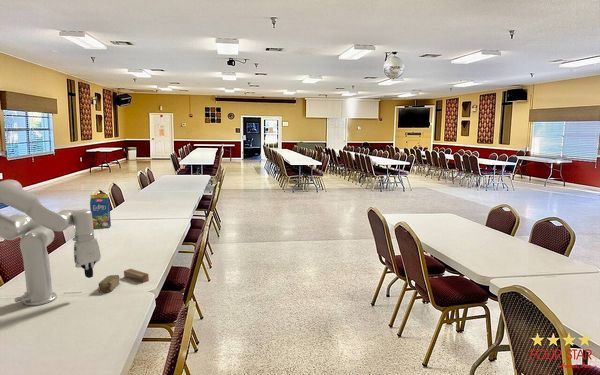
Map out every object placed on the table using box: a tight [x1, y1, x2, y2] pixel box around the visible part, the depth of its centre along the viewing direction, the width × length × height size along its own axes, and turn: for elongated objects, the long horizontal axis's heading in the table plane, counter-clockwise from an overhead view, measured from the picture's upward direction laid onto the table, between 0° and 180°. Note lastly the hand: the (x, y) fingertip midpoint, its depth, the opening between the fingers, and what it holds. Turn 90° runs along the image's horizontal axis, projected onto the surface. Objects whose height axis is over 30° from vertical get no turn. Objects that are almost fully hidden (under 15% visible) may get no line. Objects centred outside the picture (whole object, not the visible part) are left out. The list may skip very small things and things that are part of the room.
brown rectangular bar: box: [123, 268, 150, 284], centre depth 211 cm, size 4×14×4 cm, turn 57°
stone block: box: [98, 274, 120, 294], centre depth 199 cm, size 6×12×5 cm, turn 2°
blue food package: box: [89, 193, 112, 230], centre depth 312 cm, size 6×12×25 cm, turn 104°
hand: (89, 276), depth 189 cm, fingers closed
